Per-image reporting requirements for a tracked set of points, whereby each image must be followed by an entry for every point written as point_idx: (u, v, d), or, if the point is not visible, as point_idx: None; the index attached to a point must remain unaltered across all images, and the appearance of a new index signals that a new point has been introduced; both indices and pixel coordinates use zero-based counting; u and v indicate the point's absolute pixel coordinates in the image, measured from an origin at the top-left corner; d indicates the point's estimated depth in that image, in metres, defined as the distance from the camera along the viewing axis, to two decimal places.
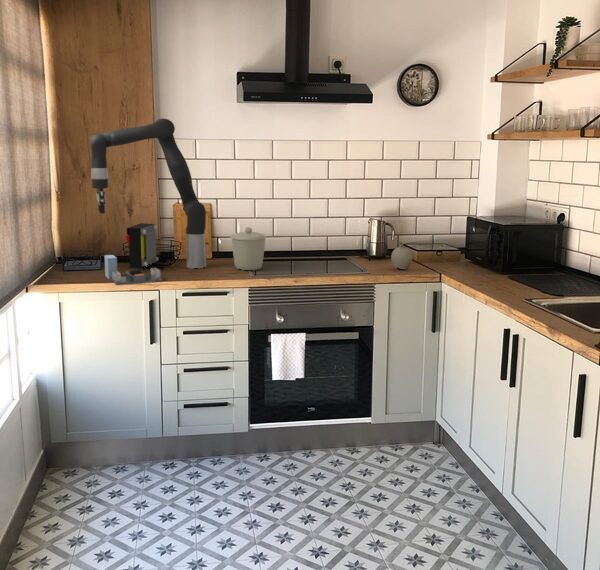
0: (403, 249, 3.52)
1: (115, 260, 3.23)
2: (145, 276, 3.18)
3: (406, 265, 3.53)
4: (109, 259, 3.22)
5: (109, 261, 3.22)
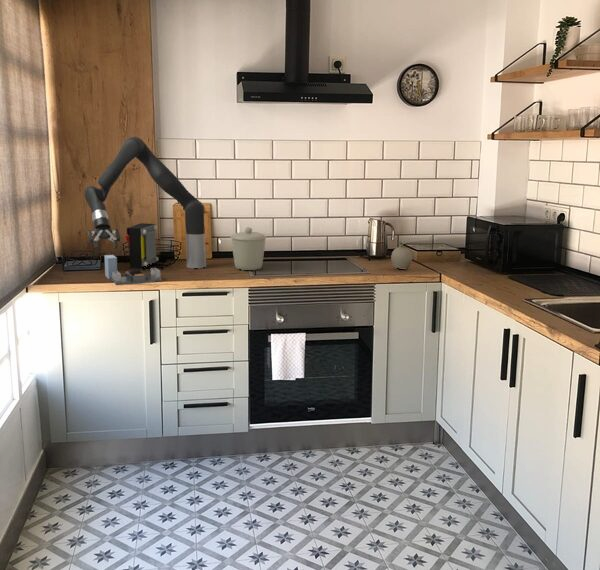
0: (403, 249, 3.52)
1: (115, 260, 3.23)
2: (145, 276, 3.18)
3: (406, 265, 3.53)
4: (109, 259, 3.22)
5: (109, 261, 3.22)
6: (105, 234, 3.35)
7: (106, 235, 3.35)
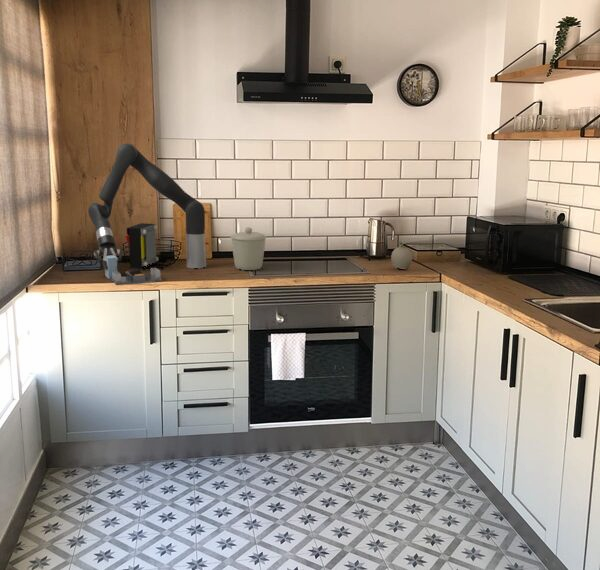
0: (403, 249, 3.52)
1: (115, 260, 3.23)
2: (145, 276, 3.18)
3: (406, 265, 3.53)
4: (109, 259, 3.22)
5: (109, 261, 3.22)
6: (108, 252, 3.29)
7: (109, 253, 3.28)
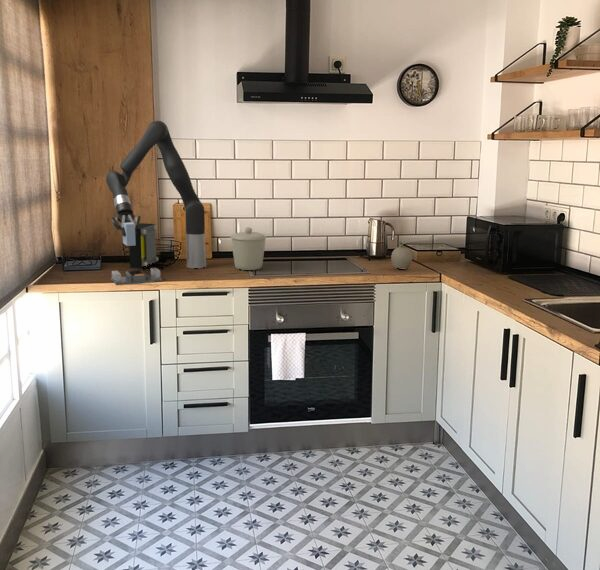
0: (403, 249, 3.52)
1: (133, 226, 3.25)
2: (145, 276, 3.18)
3: (406, 265, 3.53)
4: (127, 225, 3.23)
5: (127, 227, 3.24)
6: (126, 219, 3.30)
7: (127, 220, 3.30)
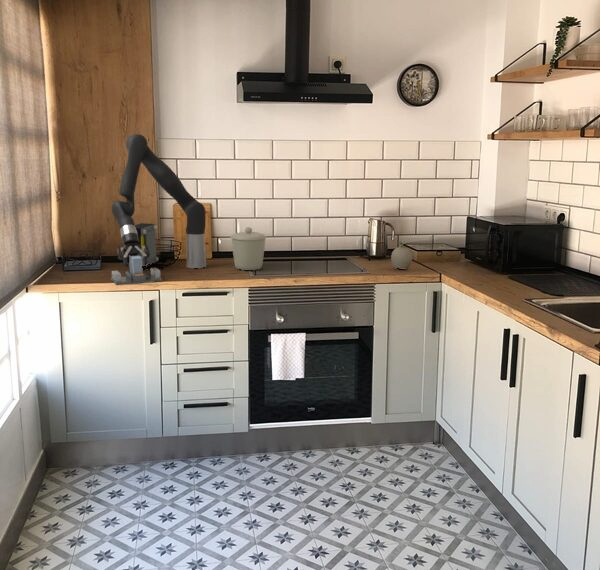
0: (403, 249, 3.52)
1: (140, 260, 3.18)
2: (145, 276, 3.18)
3: (406, 265, 3.53)
4: (134, 259, 3.16)
5: (134, 262, 3.17)
6: (134, 250, 3.23)
7: (135, 251, 3.23)
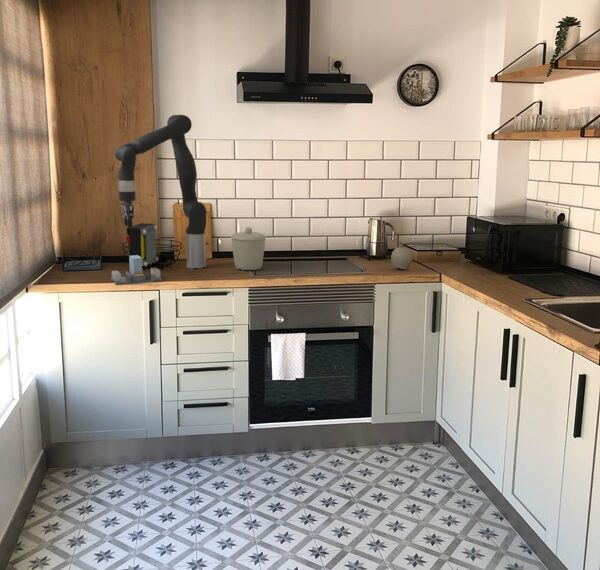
0: (403, 249, 3.52)
1: (140, 260, 3.18)
2: (145, 276, 3.18)
3: (406, 265, 3.53)
4: (134, 259, 3.16)
5: (134, 262, 3.17)
6: None
7: None
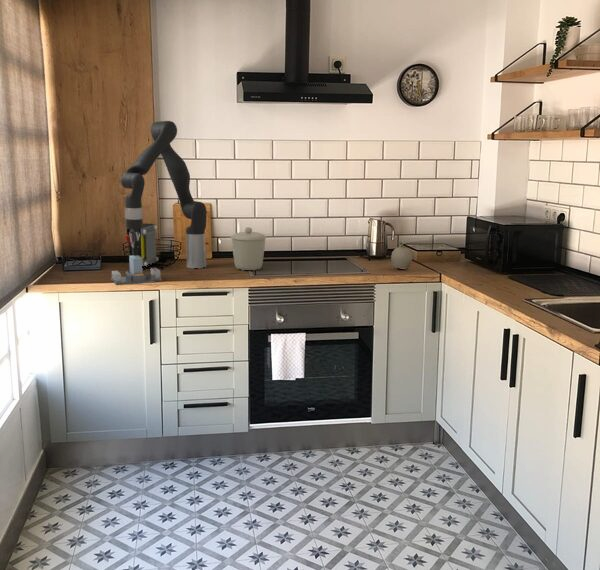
0: (403, 249, 3.52)
1: (140, 260, 3.18)
2: (145, 276, 3.18)
3: (406, 265, 3.53)
4: (134, 259, 3.16)
5: (134, 262, 3.17)
6: None
7: None
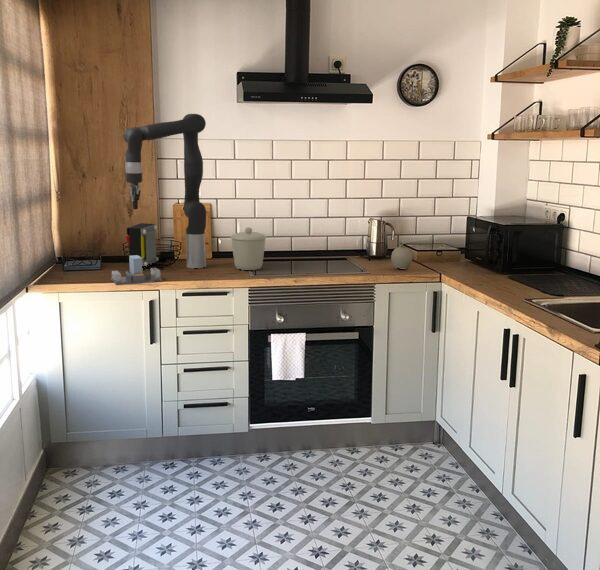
0: (403, 249, 3.52)
1: (140, 260, 3.18)
2: (145, 276, 3.18)
3: (406, 265, 3.53)
4: (134, 259, 3.16)
5: (134, 262, 3.17)
6: None
7: None
